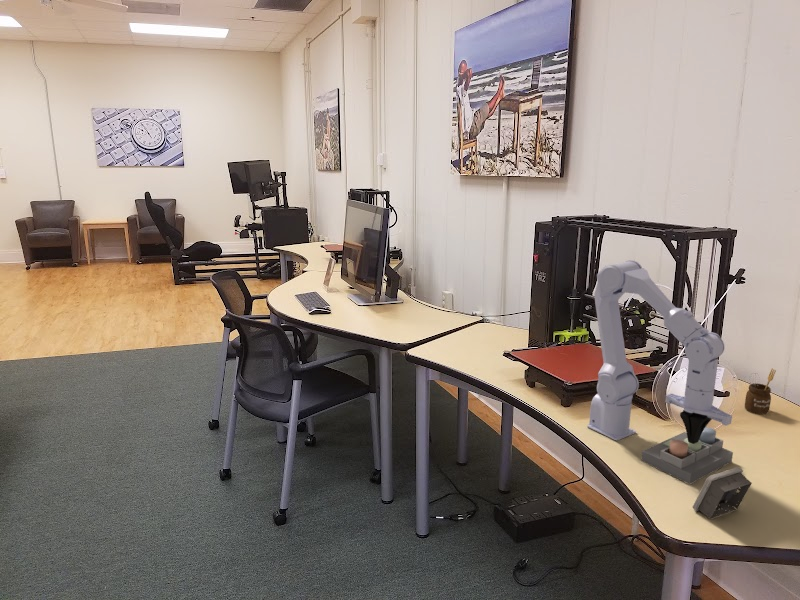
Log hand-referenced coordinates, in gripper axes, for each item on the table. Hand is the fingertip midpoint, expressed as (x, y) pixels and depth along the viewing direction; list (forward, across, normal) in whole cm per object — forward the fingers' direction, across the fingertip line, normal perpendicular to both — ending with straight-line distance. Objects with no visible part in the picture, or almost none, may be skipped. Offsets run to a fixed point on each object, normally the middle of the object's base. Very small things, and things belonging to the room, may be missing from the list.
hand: (693, 441), depth 135 cm
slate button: (+1, 0, +6) cm, 6 cm away
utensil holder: (+6, -6, +42) cm, 42 cm away
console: (+5, -1, 0) cm, 5 cm away
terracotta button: (+1, 0, -6) cm, 6 cm away
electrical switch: (+6, +14, -12) cm, 20 cm away
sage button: (+2, 0, 0) cm, 2 cm away
